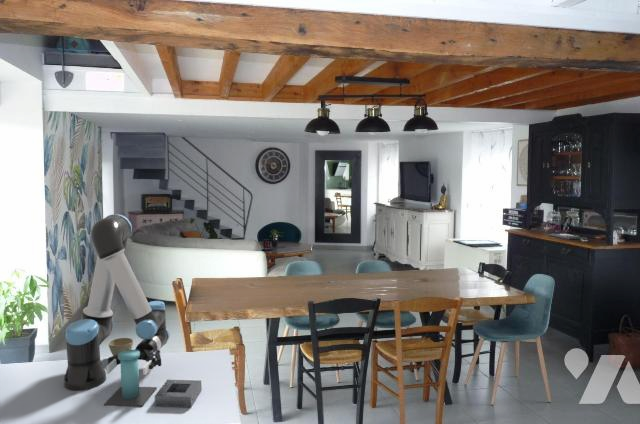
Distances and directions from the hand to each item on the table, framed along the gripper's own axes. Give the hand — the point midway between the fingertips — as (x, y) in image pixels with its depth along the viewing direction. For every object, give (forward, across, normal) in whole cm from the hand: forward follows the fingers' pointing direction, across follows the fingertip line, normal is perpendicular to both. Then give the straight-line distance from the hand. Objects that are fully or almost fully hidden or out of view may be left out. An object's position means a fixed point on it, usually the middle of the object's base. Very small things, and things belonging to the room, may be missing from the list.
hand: (125, 370), depth 197 cm
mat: (-3, 0, -12) cm, 12 cm away
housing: (-3, -18, -12) cm, 22 cm away
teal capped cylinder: (-3, 0, -11) cm, 11 cm away
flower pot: (-38, +19, -12) cm, 44 cm away
